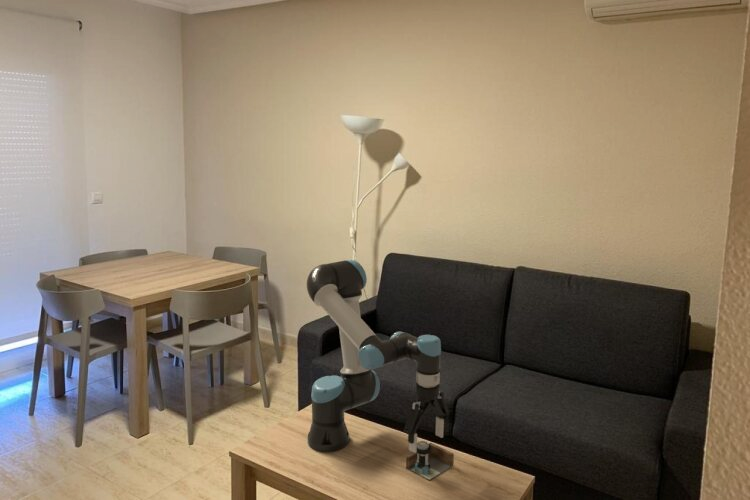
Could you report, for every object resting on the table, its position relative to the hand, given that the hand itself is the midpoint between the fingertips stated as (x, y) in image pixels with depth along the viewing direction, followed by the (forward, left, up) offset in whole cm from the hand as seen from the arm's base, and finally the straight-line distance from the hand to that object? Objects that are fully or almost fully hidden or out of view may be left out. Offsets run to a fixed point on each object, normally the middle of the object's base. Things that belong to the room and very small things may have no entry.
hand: (426, 443), depth 196 cm
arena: (-1, +3, -10) cm, 11 cm away
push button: (0, -1, -10) cm, 10 cm away
